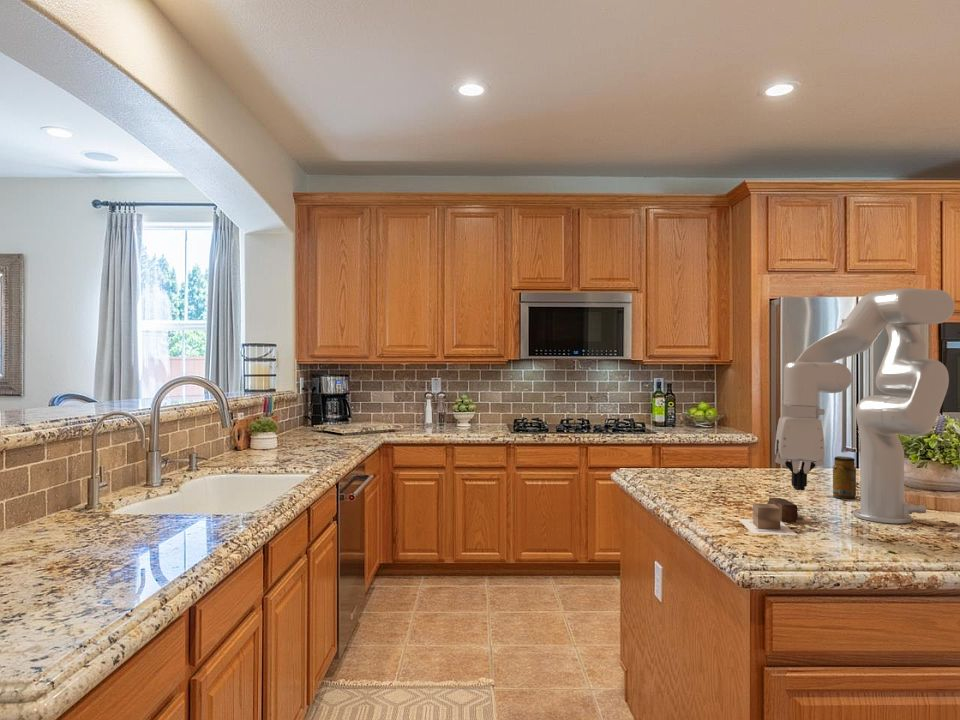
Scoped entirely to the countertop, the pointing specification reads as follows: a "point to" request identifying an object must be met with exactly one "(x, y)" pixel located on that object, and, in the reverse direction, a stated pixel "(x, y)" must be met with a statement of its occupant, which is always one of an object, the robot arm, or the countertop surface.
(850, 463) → the condiment
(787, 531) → the letter
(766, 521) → the walnut block
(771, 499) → the brick
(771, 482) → the countertop surface
